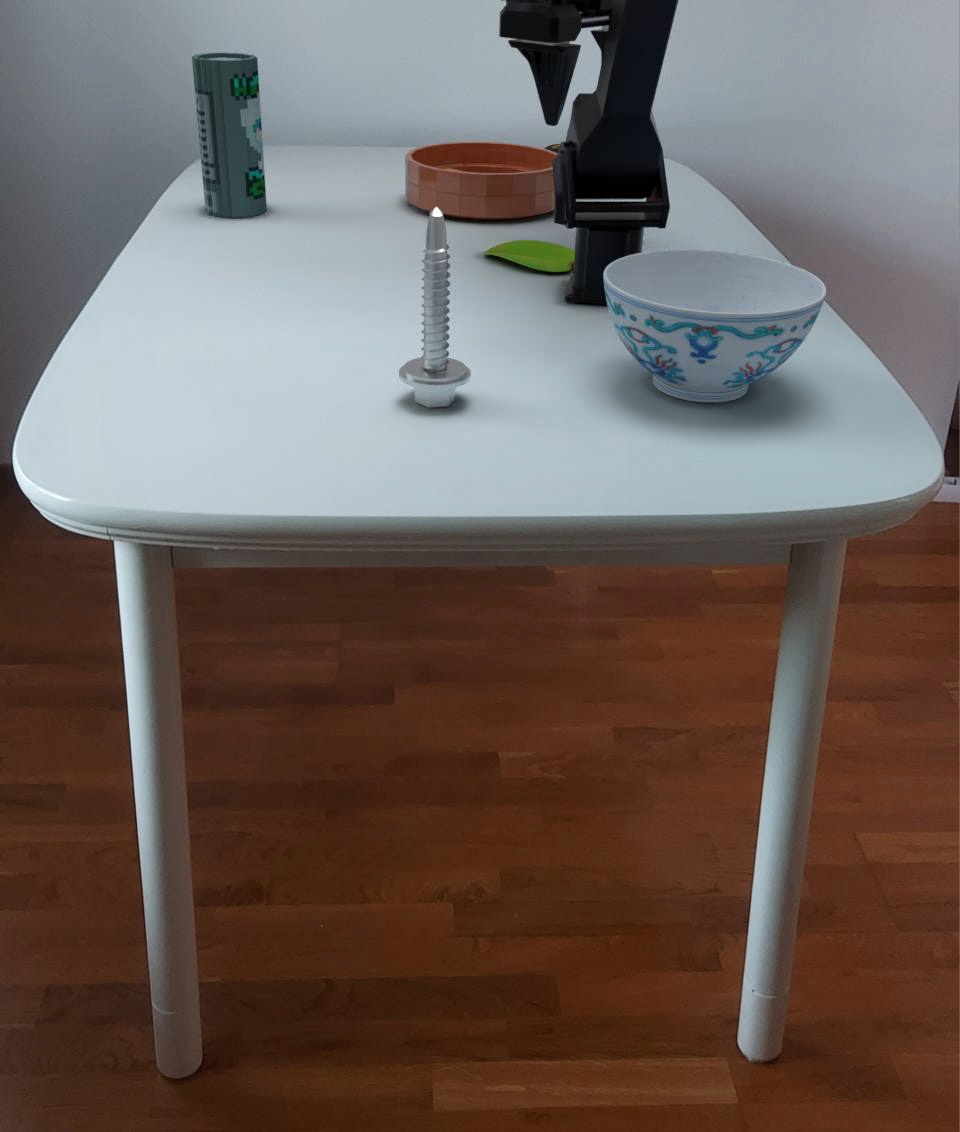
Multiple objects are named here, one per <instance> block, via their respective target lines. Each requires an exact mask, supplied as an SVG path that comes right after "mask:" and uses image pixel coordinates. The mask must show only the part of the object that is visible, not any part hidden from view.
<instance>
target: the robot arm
mask: <svg viewBox="0 0 960 1132" xmlns="http://www.w3.org/2000/svg"><path fill="white" fill-rule="evenodd" d="M501 1H502V2H503V1H504V0H501ZM678 4H679V0H505V5H504V7H503V8H502V9H501V11H499V25H498V27H499V29H498V37H499V38H506V39H508V40H507V43H508V45H509V46H510V48H513V49H516V50H517V51H518V52H519V53H520V54H521V56H522V57H524V58H525V59H526V61H527V63H528V65H529V68H530V70H531V73H532V77H533V81H534V84H535V88H536V91H537V92H536V93H537V96H538V99H539V103H540V107H541V111H542V115H543V119H544V123H545V125H547V126H549V127H550V126H552V127H557V126H558V125H559V123H560V119H561V116H562V113H563V111H564V108H565V104H566V101H567V97H568V94H569V90H570V86H571V83H572V81H573V77H574V72H575V70H576V69H575V68H576V65H577V62H578V59H579V55H580V52H581V48H582V45H581V44H577V43H576V44H575V43H570V42H576V41H577V39H578V37H579V35H580V33H581V32H582V29H589V28H599V27H601V28H599V29H592V30H590V34H591V35H592V37H593V39H594V40H595V43H596V44H597V46H598V48H599V50H600V53H601V55H600V57H601V58H600V60H601V61H600V63H601V64H600V69H599V75H598V80H597V85H596V89H595V90H594V91H593V92H591V93H590V92H589V93H588V92H587V93H585V92H584V93H582V92H581V93H578V94H577V95H576V97H575V98H574V100H573V101H572V105H571V112H570V120H569V124H568V128H567V131H566V137H565V141H560V143H559V144H560V145H559V150H558V153H557V156H556V157H555V159H554V160H553V162H552V168H553V184H554V210H553V223H554V224H557V225H561V226H564V227H565V228H566V229H567V230H573V229H575V241H574V251H575V254H574V265H573V267H572V268H573V270H572V275H570V276H569V280H568V283H567V286H566V289H565V292H564V301H567V302H574V303H588V304H602V305H607V301H606V296H605V289H604V279H603V275H604V270H605V268H606V267H607V266H608V265H609V264H610V263H612V262H614V261H615V260H618V259H620V258H623V257H626V256H629V255H633V254H638V253H643V244H644V233H645V228H657V229H666V227H667V224H668V223H667V222H668V218H669V214H670V209H671V204H670V196H669V189H668V180H667V173H666V164H665V157H664V152H663V150H664V149H663V147H662V142H661V139H660V134H659V131H658V127H657V124H656V120H655V117H654V113H653V106H654V101H655V98H656V93H657V89H658V86H659V81H660V77H661V73H662V69H663V65H664V60H665V56H666V52H667V48H668V45H669V41H670V37H671V32H672V28H673V24H674V20H675V15H676V13H677V12H676V11H677V8H678ZM579 200H581V201H579ZM585 200H589V201H585ZM590 200H594V201H590ZM595 200H596V201H595ZM597 200H598V201H597ZM599 200H600V201H599ZM606 200H607V201H606ZM611 200H613V201H611ZM614 200H615V201H614ZM617 200H618V201H617ZM619 200H620V201H619ZM621 200H624V201H621ZM625 200H629V201H625ZM630 200H631V201H630ZM632 200H634V201H632ZM636 200H637V201H636ZM638 200H640V201H638ZM641 200H644V201H641Z"/></svg>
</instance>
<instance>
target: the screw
mask: <svg viewBox="0 0 960 1132" xmlns="http://www.w3.org/2000/svg"><path fill="white" fill-rule="evenodd" d="M425 233H426V234H425V248H424V249H423V250H422V253H424V257H423V259H421V261H420V262H422V263H423V268H421V271H422V272H423V277H422V278H421V280H422V281H423V286H421V289H422V290H423V295H421V296H420V297H421V298H422V299H423V303H422V304H421V305H420V306H421V307H422V308H423V312H422V313H421V314H420V315H421V316H422V317H423V321H421V322H420V324H421V325H422V326H423V329H422V330H421V331H420V333H421V334H423V338H422V339H420V340H421V342H422V343H423V347H421V348H420V349H421V351H422V352H423V355H422V356H420V357H416V358H413V359H410V360H408V361H406V362H405V363H404V364H403V365H401V367H399V369H398V378H399V380H400V381H401V382H402V383H403V384H406V385H408V386H410V387H412V388H414V403H417V404H419V405H421V406H424V407H426V408H428V409H429V408H430V409H431V408H442V407H444V408H446V407H449V406H450V405H451V404H452V403H453V401H454V400H455V397H456V391H455V390H456V389H457V388H459V387H462V386H464V385H465V384H467V383H469V382H470V380H471V378H472V375H471V372H472V371H471V369H470V368H469V367H468V366H467V365H466V364H465V363H463V362H462V361H461V360H458V359H455V358H451V357H449V355H450V352H449V351H448V349H449V348H450V343H449V342H448V340H449V339H450V335H449V333H448V331H449V330H450V325H448V323H449V322H450V316H448V314H449V313H450V311H451V310H450V308H449V307H448V305H450V303H451V300H450V299H449V298H448V297H449V296H450V295H451V291H450V290H449V289H448V288H449V287H450V286H451V282H450V281H449V280H448V279H449V278H450V277H451V273H450V272H449V269H450V268H451V264H450V262H449V260H450V258H451V255H450V254H449V253H448V250H449V249H450V246H449V244H447V229H446V222H445V215H443V212H442V210H440V209H439V208H437V207H436V208H434V209H433V210H431V211H429V217H428V222H427V226H426V232H425Z"/></svg>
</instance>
